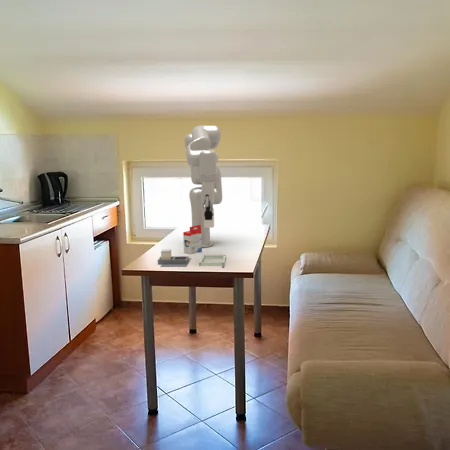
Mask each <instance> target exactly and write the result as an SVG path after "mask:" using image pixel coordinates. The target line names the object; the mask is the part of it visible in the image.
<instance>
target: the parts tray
mask: <svg viewBox="0 0 450 450" xmlns="http://www.w3.org/2000/svg"><path fill="white" fill-rule="evenodd" d="M205 259H208V260H209V259H210V260H211V259H218V260H219V259H222V261H205ZM226 262H227V255H226V254H202V256H201V258H200V260H199V263H198V265H199V266H200V267H211V266H213V267H219V266H220V267H221V268H222V269H224V268H225V265H226Z"/></svg>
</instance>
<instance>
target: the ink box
mask: <svg viewBox="0 0 450 450" xmlns="http://www.w3.org/2000/svg"><path fill="white" fill-rule="evenodd" d="M195 227H196V228H197V229H194V228H195ZM182 235H183V236H182V237H183V253H184V254H188V255H192V254H196V253H197V254H198V253H202V252H203V248H202V236H201V225H196V226H192V225H191V226H190V227H189V230H187V231H186V230H185V231H183V233H182Z"/></svg>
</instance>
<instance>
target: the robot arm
mask: <svg viewBox="0 0 450 450" xmlns="http://www.w3.org/2000/svg"><path fill="white" fill-rule="evenodd" d="M220 141H221V130H220V128H219V127H218V126H217V125H213V124H212V125H210V124H209V125H208V124H207V125H196V126H194V127H193V128H192V130H191V133H187V134H186V135H185V136H184V145H185V146H184V147H185V149H186V150H185V155H186V156H185V157H186V162H187V164H188V166H189V167H190V177H191V178H190V179H191V183H192V184H193V185H197V186H198V187H193V188H191V189H190V190H189V193H188V194H189V195H188V196H189V202H190V207H191V208H190V210H191V227H192V226H196V225H201V236H202V249H203V248H210V247H212V246H214V243H213V242H212V241H211V229H210V228H204V209H205V220H212V211H211V209H214V208H213V207H214V205H220V204H221V203H222V202H223V188H222V187H223V185H222V173H221V169H220V168H219V167H217V163H218V162H219V154H218V153H217V151H215V149H216V148H218V146H219V143H220ZM200 185H201V186H200ZM194 229H197V228H196V227H195V228H194Z"/></svg>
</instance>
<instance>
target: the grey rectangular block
mask: <svg viewBox="0 0 450 450" xmlns="http://www.w3.org/2000/svg"><path fill="white" fill-rule="evenodd" d="M211 211H212V220H205V209H204V228H214V227H215V209H214V208H213V209H211Z"/></svg>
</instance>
